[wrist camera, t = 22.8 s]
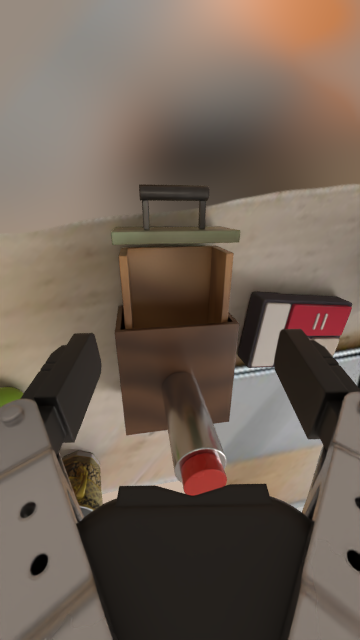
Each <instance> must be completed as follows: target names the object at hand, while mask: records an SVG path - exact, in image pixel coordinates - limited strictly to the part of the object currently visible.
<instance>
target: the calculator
mask: <svg viewBox="0 0 360 640" xmlns="http://www.w3.org/2000/svg"><path fill="white" fill-rule="evenodd" d="M351 309H352V303H351V302H349V301H346V300H344V299H341V298H339V297H334V296H312V295H290V294H279V293H270V292H253V293H252V294H251V298H250V303H249V307H248V311H247V316H246V320H245V325H244V329H243V333H242V338H241V342H240V346H239V351H238V356H239V357H240V358H241V360H242V361H243V362H244V363H245V365H246V366H247V367H248V368H257V367H275V366H274V357H275V352H276V348H277V343H278V338H279V333H280V331H281V330H282V329H302V330H303V332H304V333H305V334H306V335H307V337H308V338H309V339H310V340H315V341H316V342H318V343H319V344H321V345H322V346H324V347H325V348H326V349H327V350H328V351H329V353H330V354H331V355H332V356H333V355H334V353H335V350H336V347H337V345H338V342H339V337H340V335H341V334H342V332H343V330H344V327H345V325H346V322H347V320H348V317H349V315H350V312H351Z"/></svg>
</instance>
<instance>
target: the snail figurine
mask: <svg viewBox="0 0 360 640" xmlns="http://www.w3.org/2000/svg"><path fill="white" fill-rule="evenodd" d="M22 396H23V393H22V392H21V391H20V390H18V389H16V388H13V387H2V388H0V407H2V406H3V405H5V404H7V403H9V402H11V401H14V400H18V399H20V398H21V397H22Z"/></svg>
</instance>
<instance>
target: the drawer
mask: <svg viewBox="0 0 360 640" xmlns="http://www.w3.org/2000/svg"><path fill="white" fill-rule="evenodd" d="M139 188H140V189H139V191H140V200H142V206H143V207H142V208H143V227H116V228H114V230H113V231H112V232H111V238H112V245H128V244H181V243H233V242H239V239H240V230H235V229H230V228H225V227H220V226H217V227H205V213H206V201H207V200H208V198H209V187H208V186H188V185H139ZM148 200H167V201H175V200H176V201H182V200H183V201H199V227H149V206H148ZM232 265H233V253H232V252H229V251H227V250H225V249H222V248H220V247H218V246H172V247H124V248H121V251H120V254H119V266H120V276H121V287H122V298H123V308H124V319H125V329H138V328H152V327H166V326H180V325H194V324H208V323H223V322H228V312H229V300H230V288H231V276H232Z"/></svg>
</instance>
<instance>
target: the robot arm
mask: <svg viewBox="0 0 360 640" xmlns="http://www.w3.org/2000/svg"><path fill="white" fill-rule="evenodd" d="M274 366H275V370H276V373H277V375H278V377H279V379H280V381H281V383H282V386H283V388H284V390H285V392H286V394H287V396H288V398H289V400H290V402H291V405H292V407H293V409H294V411H295V413H296V415H297V417H298V419H299V421H300V423H301V426H302V428H303V430H304V432H305V434H306V436H307V438H308V439H321V441H322V443H323V447H322V450H321V453H320V456H319V460H318V463H317V466H316V470H315V473H314V477H313V480H312V484H311V487H310V490H309V494H308V497H307V500H306V502H305V505H304V508H303V511H302V512H300V511H299V510H297V509H296V508H294V507H293V506H291V505H289V504H287V503H285V502H284V501H281V500H279V499H276V498H274V497H270V496H269V493H268V489H267V485H266V484H230V485H227V486H223V487H220V488H217V489H214V490H211V491H208V492H205V493H201V494H198V495H193V496H191V495H187V494H183V493H179V492H176V491H173V490H169V489H165V488H162V487H158V486H119V491H118V497H117V499H114V500H112V501H109V502H107V503H105V504H103V505H101V506H99V507H98V508H96V509H94V510H93V511H92V512H90V513H89V514H88V515H86V516H85V517H84V516H83V514H82V511H81V509H80V507H79V504H78V502H77V499H76V497H75V494H74V491H73V488H72V486H71V483H70V480H69V477H68V475H67V472H66V469H65V467H64V464H63V461H62V458H61V456H60V453H59V450H60V448H61V445H62V443H70V442H75V439H76V437H77V434H78V431H79V429H80V426H81V424H82V421H83V418H84V416H85V413H86V411H87V408H88V405H89V403H90V400H91V398H92V395H93V393H94V390H95V387H96V385H97V382H98V380H99V377H100V374H101V359H100V355H99V351H98V347H97V342H96V338H95V335H94V334H93V333H80V334H74V335H73V336H72V338H71V339H70V341H69V342H68V344H67V345H62V346H61V347H59V348H58V349H57V350H55V351H54V352H53V353H52V354H51V355H50V357H49V358H48V360H47V361H46V364H44V365H43V367H42V368H41V371H40V372H38V374H37V375H36V377H35V378H34V380H33V381H32V383H31V384H30V385H29V387H28V388H27V390H26V391H25V393H24V394H23V396H22V397H21V398H20V399H18V400H14V401H11V402H9V403H7V404H5V405H3V406H2V407H0V640H360V389H359V388H358V387H357V386H356V384H355V383H354V382H353V381H352V379H351V378H350V377H349V376H348V375H347V373H346V372H345V371H344V370H343V368H342V367H341V366H339V364H338V362H337V361H336V360H335V359H334V358H333V356H332V355H331V354H330V353H329V351H328V350H327V349H326V348H325V347H324V346H322V345H321V344H319V343H318V342H316V341H315V340H310V339H309V338H308V337H307V335H306V334H305V333H304V332H303V330H302V329H282V330H281V331H280V333H279V338H278V343H277V348H276V352H275V357H274Z"/></svg>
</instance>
